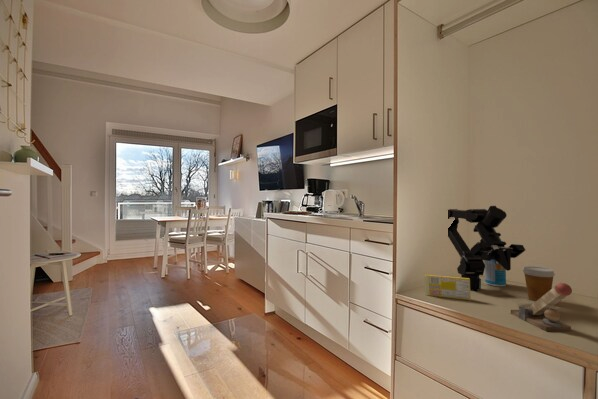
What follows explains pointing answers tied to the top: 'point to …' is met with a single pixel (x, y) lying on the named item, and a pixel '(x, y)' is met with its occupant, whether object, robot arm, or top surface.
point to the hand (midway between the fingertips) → (508, 270)
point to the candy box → (447, 287)
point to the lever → (550, 299)
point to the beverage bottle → (494, 273)
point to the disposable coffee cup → (538, 281)
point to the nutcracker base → (542, 319)
